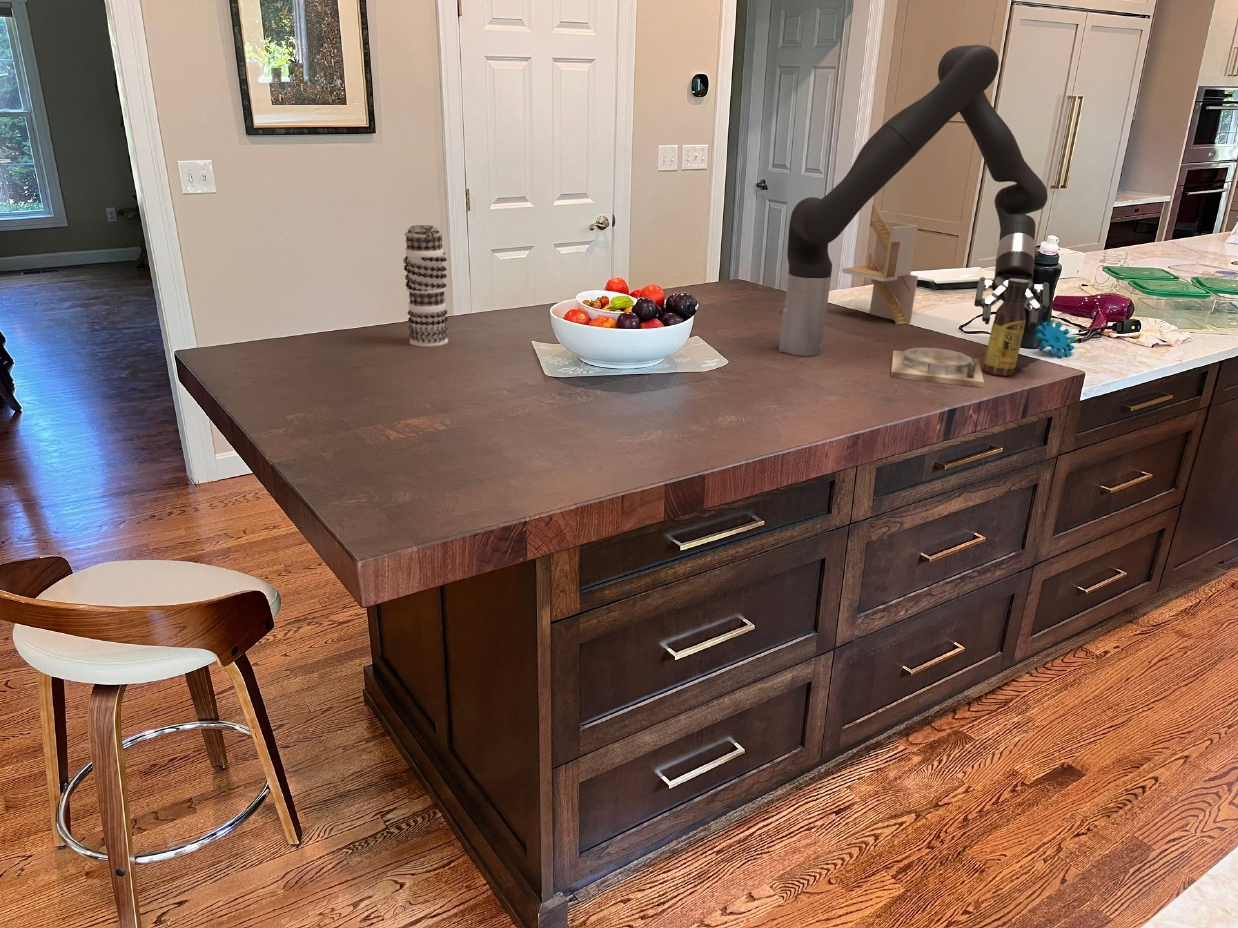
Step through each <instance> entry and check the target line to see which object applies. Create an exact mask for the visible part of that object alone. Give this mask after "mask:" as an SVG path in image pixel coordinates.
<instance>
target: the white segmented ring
mask: <svg viewBox="0 0 1238 928" xmlns="http://www.w3.org/2000/svg"><path fill="white" fill-rule="evenodd" d="M916 358H936V359H944V360H948V361H952V362H956V363H958V364H940V363H931V362H927V361H923V360H919V359H916ZM972 359H973V358H972V357H971V356H969V355H967V354H964V353H963V352H958V351H954V350H951V349H945V348H935V347H913V348H909V349H906V350H904V358H903V364H904V365H906V366H908V367H910V368H911V369H915V370H919V371H922V372H926V373H933V374H942V375H958V374H964V373H967V378H974V374H975V368H976V363H974V362H972Z"/></svg>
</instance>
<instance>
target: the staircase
mask: <svg viewBox="0 0 1238 928" xmlns="http://www.w3.org/2000/svg"><path fill="white" fill-rule="evenodd" d="M869 228H872V229H873V231H874V233H875V235H876V239H875V247H874V253H873V255H872V253H871V252H870V253H869V254H868V260H867V265H862V266H853V267H844V268H842V270H841V273H843V274H846V275H847V274H848V275H851V276H852V275H853V276H855V277H861V278H865V279H868V280H871V283H872V284H873V287H872V295H871V300H870V308H869V315H872V316H877V317H881V318H885V319H889V320H893V321H894V322H895V323H894V324H895V325H896V324H902V325H906V324H907V325H910V324H911V321H912V315H913V309H914V303H915V296H916V292H917V291H916V289H917V284H918V278H919V276H918V275H915V274H912V268H913V261H914V255H915V248H916V243H917V236H918V230H919V225H915V224H909V223H903V222H898V221H890V220H884V218H883V217H882V215H881V214H880V212H879V210H878V209H877V208H876V205H875V203H872V205H871V212H870V222H869Z"/></svg>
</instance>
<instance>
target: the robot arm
mask: <svg viewBox="0 0 1238 928" xmlns="http://www.w3.org/2000/svg"><path fill="white" fill-rule="evenodd" d="M999 68H1000V60H999V55H998V54H997V52H996V51H995V50H994V49H993V48H991V47H989V46H987V45H983V44H981V45H980V44H973V45H971V44H970V45H960V46H959V45H957V46H955V47H953V48H951V49H950V48H949V50H947V51H946V52H945V53H944V54H943V56H942V57H941V58H940V61H939V63H938V68H937V77H938V81H939V82H938V83H937V85H936V86H934V88H933V89H931V91H930V90H929V92H928V93H926V94H925V95H924V96H923V97H921V98H919V99H918V100H917V101H916V100H915V102H913V103H912V104H910V105H908V106H906V107H905V108H903V109H902V110H901V111H899V112H898V113H896V114H895V115H893V116H892V117H890V118H889V119H887V121H886V122H885V123H884V124H882V126H880V127H879V129H877V130H876V132H875V133H874V134H873V135H871V137H870V138H869V139H868V140H867V141H866V142H865V144H864V145H863V147H861V149H860V151H859V152H858V155H857V156H856V158H855V160H854V161H853V164H852V166H851V167H850V169H849V171H848V173H847V174H846V175H845V176H844V178H843V179H842V180H841V181H840V182H839V183H838V184H837V185H836V186H835V187H834V188H833V189H832V190H830V191H829V192H828V193H827V194H826V195H825V196H823V197H822V198H819V197H814V196H812V197H811V196H810V197H807V198H806V197H805V198H803V199H802V200H800V201H799V202H798V203H797V204H795V207H794V208H793V210H792V212H791V215H790V218H789V219H790V220H789V227H788V237H787V238H788V239H787V254H786V255H787V261H788V274H787V284H786V285H787V286H786V292H785V301H784V302H785V303H784V308H783V309H782V316H781V317H782V319H781V327H780V337H779V347H778V352H781V353H785V354H789V355H794V356H802V357H803V356H804V357H811V356H812V357H815V356H817V355H819V356H820V354H822V353H823V352H822V351H823V350H822V349H823V345H824V336H825V329H826V328H825V327H826V320H827V319H826V318H827V312H828V311H827V310H828V306H829V305H828V304H829V303H828V302H829V296H830V295H829V294H830V287H831V280H832V279H831V278H832V273H833V271H832V270H833V264H832V261H831V259H830V256H829V243H831V242H833V241H835V240H836V239H837V238H838V237H839V236H840V235H841V234H842V232H843V231H844V230H845V229H847V226H848V225H849V224H850V223H851V222H852V220H853V219H854V218H855V217H856V216H857V214H858V213H859V212H860V211H861V210H862V209H863V207H864V206H865V205H866V204H867V203H868V202H869V201H870V200H871V199H872V198H873V197H874V196H875V195H876V194H878V192H879V191H881V189H882V188H883V187H885V186H886V184H887V183H888V182H890V180H891V179H893V178H894V177H895V176H896V175H897V174H898V173H899V172H900V171H901V170H902V169H903V168H904V167H905V166H906V165H907V164H908V163H909V162H910V161H911V160H912V159H913V158H914V157H915V156H916V155H917V154H918V153H919V152H920V151H921V150H922V149H923V148H924V147H925V146H926V145H927V143H929V142H930V141H931V140H932V139H933V138H934V137H935V136H936V135H937V134H938V133H939V132H940V131H941V129H942V128H943V127H944V126H946V125H947V123H948V122H950V120H951V119H952V118H954V117H955V116H956V115H957V114H958V113H959V114H960V115H961V117H962V119H963V121H964V122H965V124H966V126H967V127H968V129H969V131H970V133H971V135H972V136H973V138H974V141H975V143H976V144H977V147H978V149H979V151H980V153H981V155H982V158H983V160H984V163H985V165H986V167H987V170H988V172H989V174H990V176H991V178H992V180H993V181H995V182H997V183H1006V182H1010V183H1011V182H1012V183H1013V182H1014V184H1011V185H1008V186H1005V187H1003V188H1000V190H998V192H996V195H995V197H994V206H995V211H996V213H997V217H998V221H999V222H998V223H999V228H1000V229H999V230H1000V232H999V239H998V240H999V241H998V247H997V249H996V250H997V251H996V256H995V268H994V279H993V280H988V279H986V277H985V276H980V277H979V279H978V280H979V281H978V283H977V286H976V291H975V298H974V303H973V304H974V306H975V307H980V308H982V315H981V316H982V317H981V321H982V322H984V325H989V324H990V321H991V315H992V307H993V306H995V305H996V304H997V303H998V302H1000V301H1002V303H1003V302H1004V301H1005V297H1006V292H1007V288H1008V286H1007V284H1008V280H1009V279H1011V278H1012V279H1023V280H1027V281H1029V286H1028V289H1027V291H1026V295H1025V301H1024V307H1025V309H1027V310H1028V311H1029V315H1028V329H1033V328H1034V327H1036V325H1037V324H1038V321H1039V313H1042V314H1044V313H1047V311H1048V310H1047V309H1048V307H1049V306H1050V284H1049V282H1046V281H1045V282H1043V283H1042V284H1035V283H1034V279H1033V278H1034V269H1035V267H1034V265H1035V256H1036V255H1035V253H1036V249H1035V248H1036V247H1035V246H1036V245H1035V240H1036V229H1037V228H1036V221H1035V219H1034V218H1033V216H1030V215H1028V214H1032V213H1034V212H1038V211H1040V210H1042V209H1043V208H1044V207H1045V206H1046V205H1047V202H1048V198H1049V197H1048V190H1047V188H1046V185H1045V183H1044V182H1043V181H1042V180H1041V178H1040V177H1039V176H1038V175H1037V174H1036V173H1035V172H1034V170H1033V169H1032V168H1031V167H1030V166H1029V164H1028V163H1027V162H1026V161H1025V158H1024V156H1023V154H1022V151H1021V150H1020V147H1019V145H1018V142H1017V139H1016V137H1015V135H1014V134H1013V132H1012V131H1011V129H1010V127H1009V126H1008V125H1007V124H1006V122H1005V121H1004V120H1003V119H1002V117H1001V115H999V114H998V112H997V111H996V110H995V108H994V107H993V105H992V104H991V102H990V100H989V98H988V97H987V94H986V93H985V91H986V90H987V89H988V88H989V87H990V86H991V85H992V84H993V82H994V80H995V78H996V77H997V74H998V71H999ZM989 288H990V289H991V290H992V291H993V292H992V293H991V295H989V296H988V297H987V298H983V296H984V292H985V291H987V290H988V289H989ZM1034 291H1035V292H1036V294H1037V296H1039V302H1038V301H1037V300H1036V299H1035V296H1034V294H1033V292H1034Z"/></svg>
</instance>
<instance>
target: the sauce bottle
mask: <svg viewBox="0 0 1238 928" xmlns="http://www.w3.org/2000/svg"><path fill="white" fill-rule="evenodd" d="M1007 286H1008V288H1007V292H1006V297H1005V301H1004V302H1003V301H1002V303H1001V304H1000V306H999V307H997V308H996V311H995V313H994V318H993V321H992V325H991V330H990V336H989V340H988V342H987V343H988V344H987V348H986V353H985V356H984V357H985V358H984V360H983V361H984V365H983V371H984V372H985V373H987V374H990V375H992V374H993V375H992V376H1001V377H1008V376H1011V375H1013V374H1014V371H1015V368H1016V366H1017V361H1018V357H1019V353H1020V348H1021V345H1022V340H1023V336H1024V331H1025V327H1026V323H1027V319H1026V308H1025V307H1024V301H1025V295H1026V291H1027V289H1028V286H1029V281H1027V280H1023V279H1012V278H1011V279H1009V280H1008V284H1007Z"/></svg>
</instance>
